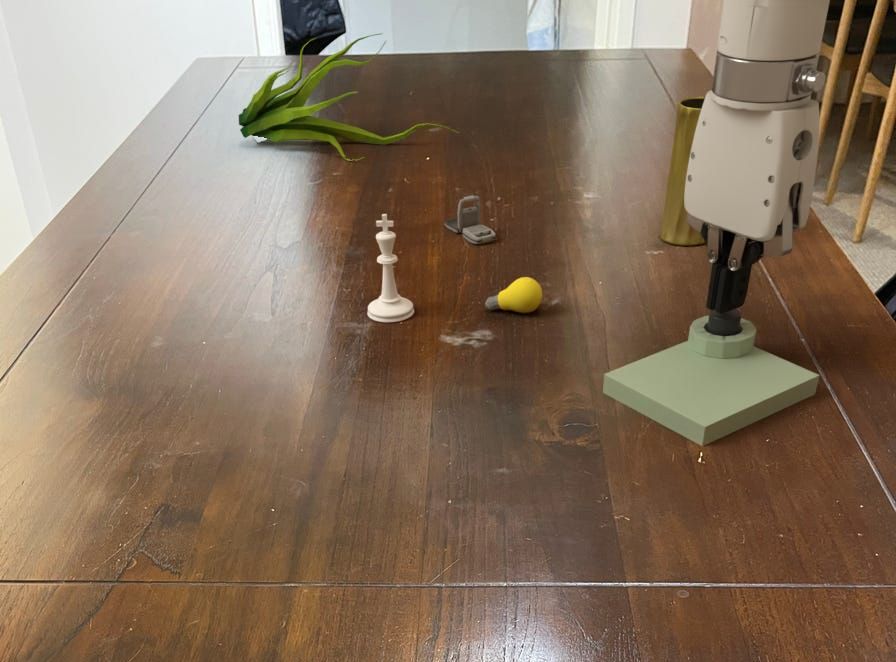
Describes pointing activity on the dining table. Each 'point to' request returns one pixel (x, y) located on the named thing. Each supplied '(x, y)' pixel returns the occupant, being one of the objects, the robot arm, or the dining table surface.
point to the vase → (681, 176)
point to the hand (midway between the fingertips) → (724, 306)
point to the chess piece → (388, 281)
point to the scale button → (724, 323)
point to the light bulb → (517, 296)
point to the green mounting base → (710, 383)
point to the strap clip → (470, 223)
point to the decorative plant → (305, 110)
